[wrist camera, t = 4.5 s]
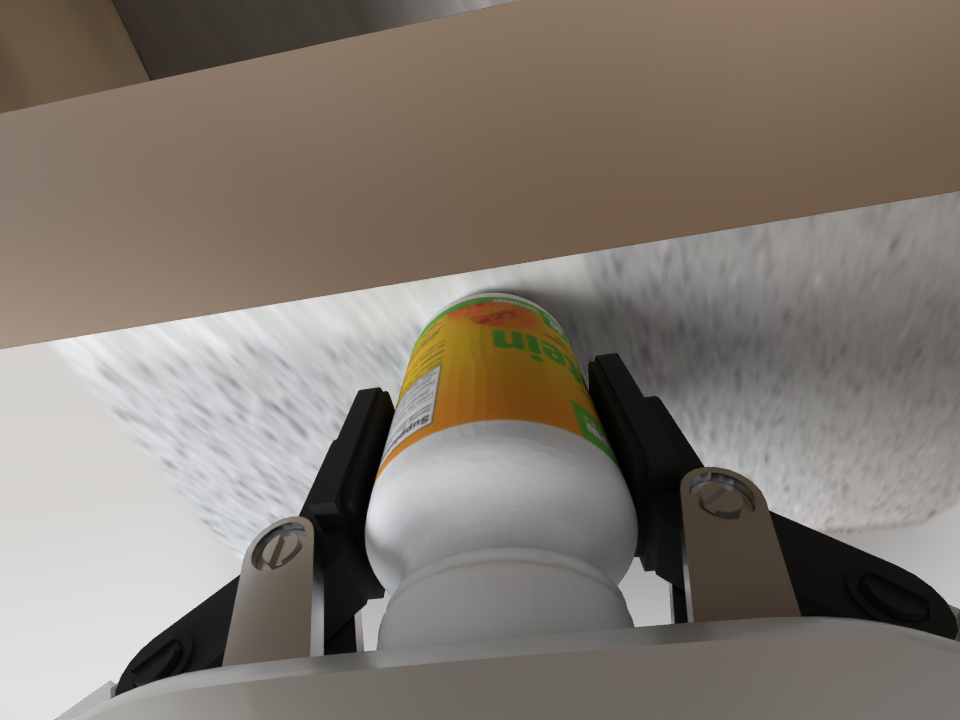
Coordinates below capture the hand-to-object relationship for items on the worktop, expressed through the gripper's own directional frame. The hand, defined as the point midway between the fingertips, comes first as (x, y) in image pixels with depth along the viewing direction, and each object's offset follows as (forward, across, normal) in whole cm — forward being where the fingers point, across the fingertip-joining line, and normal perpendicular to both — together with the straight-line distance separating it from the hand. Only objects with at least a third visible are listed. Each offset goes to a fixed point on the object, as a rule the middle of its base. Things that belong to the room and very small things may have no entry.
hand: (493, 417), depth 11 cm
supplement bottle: (+3, 0, 0) cm, 3 cm away
